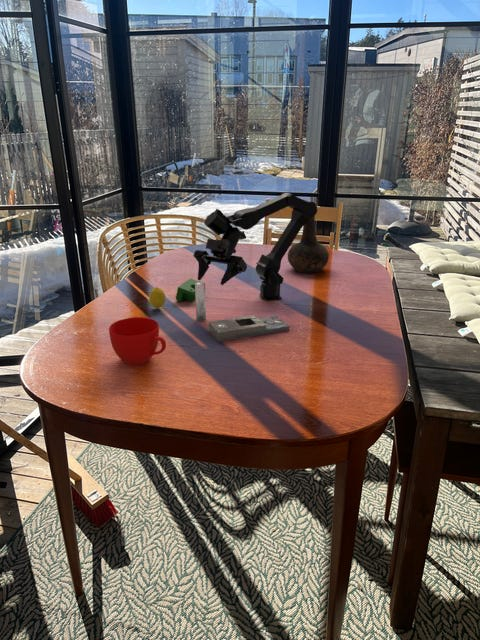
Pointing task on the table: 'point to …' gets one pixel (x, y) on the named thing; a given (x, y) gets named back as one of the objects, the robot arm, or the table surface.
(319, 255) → the glass bottle
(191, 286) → the clamp
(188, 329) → the table surface
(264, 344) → the table surface
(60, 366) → the table surface
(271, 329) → the plate
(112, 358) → the table surface
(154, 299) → the lemon
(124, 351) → the ceramic cup
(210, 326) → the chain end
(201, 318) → the steel pin
